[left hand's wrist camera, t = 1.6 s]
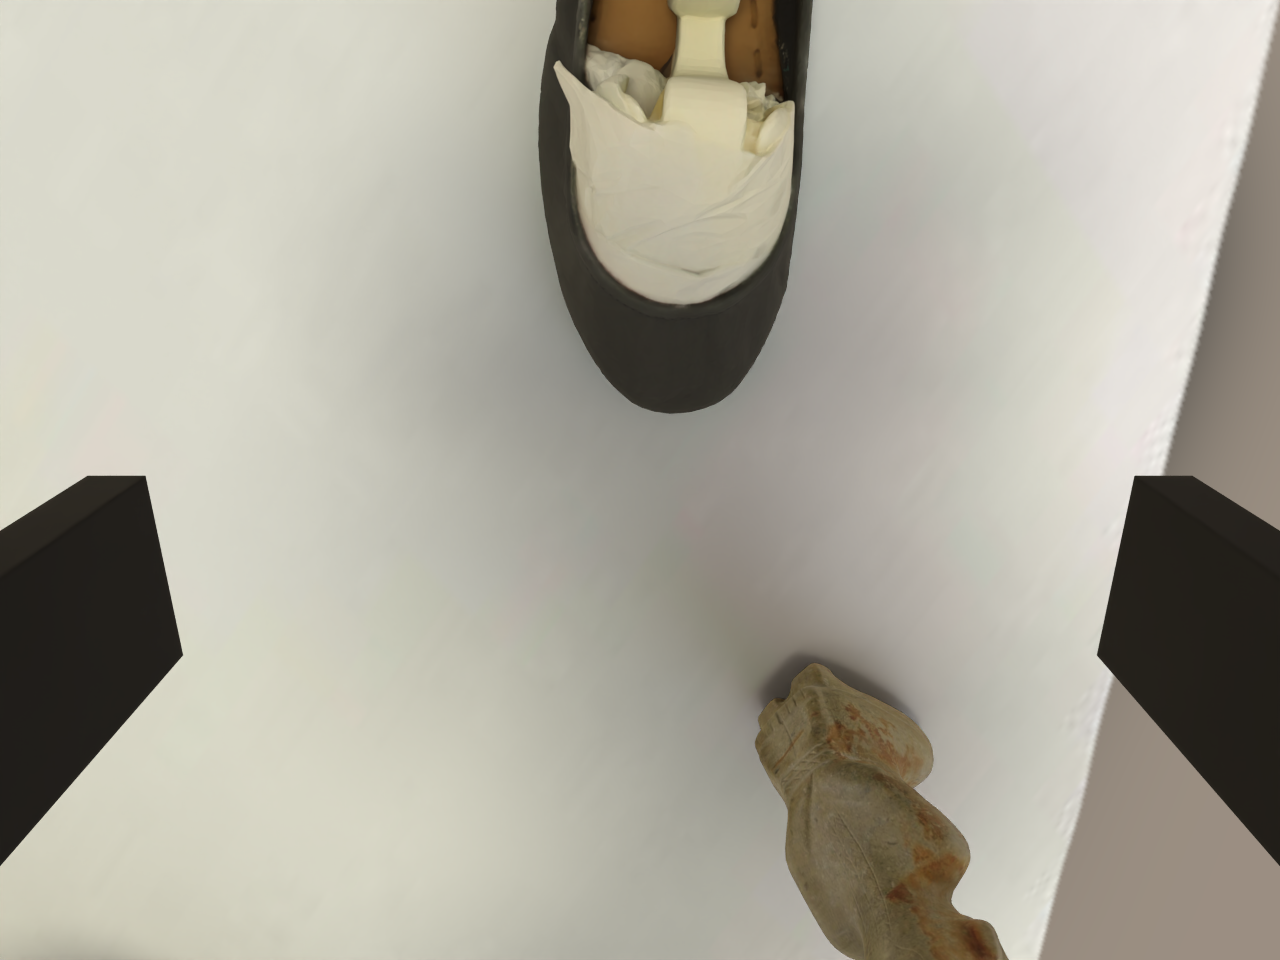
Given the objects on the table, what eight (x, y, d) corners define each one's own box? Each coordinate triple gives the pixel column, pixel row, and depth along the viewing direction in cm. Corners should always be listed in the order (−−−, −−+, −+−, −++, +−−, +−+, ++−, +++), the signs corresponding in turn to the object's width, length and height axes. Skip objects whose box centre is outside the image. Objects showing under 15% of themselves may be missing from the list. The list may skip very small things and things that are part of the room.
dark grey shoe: (551, 400, 33) (524, 481, 25) (532, -462, 25) (483, -732, 17) (775, 403, 33) (816, 485, 26) (835, -456, 25) (925, -722, 17)
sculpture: (843, 805, 40) (956, 1175, 26) (722, 713, 38) (771, 1056, 24) (943, 720, 38) (1122, 1065, 24) (822, 620, 36) (937, 929, 22)
